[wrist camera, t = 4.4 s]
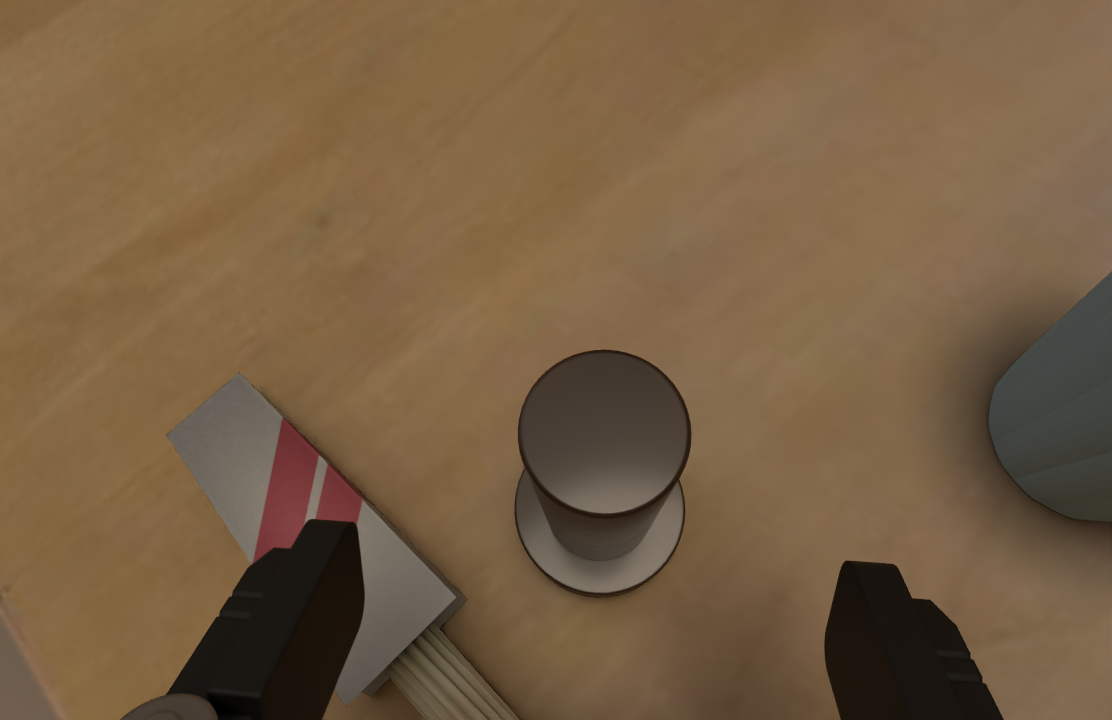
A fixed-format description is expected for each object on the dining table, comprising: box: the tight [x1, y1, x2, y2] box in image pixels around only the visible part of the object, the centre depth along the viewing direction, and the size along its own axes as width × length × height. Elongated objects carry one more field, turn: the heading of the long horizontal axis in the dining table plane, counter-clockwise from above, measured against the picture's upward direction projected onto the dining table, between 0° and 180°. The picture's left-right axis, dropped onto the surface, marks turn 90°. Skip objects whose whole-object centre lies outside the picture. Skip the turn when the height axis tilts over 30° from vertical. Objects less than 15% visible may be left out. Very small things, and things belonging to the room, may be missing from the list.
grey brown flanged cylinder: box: [515, 350, 691, 597], centre depth 19 cm, size 5×5×11 cm
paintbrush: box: [167, 372, 520, 720], centre depth 21 cm, size 4×3×20 cm
